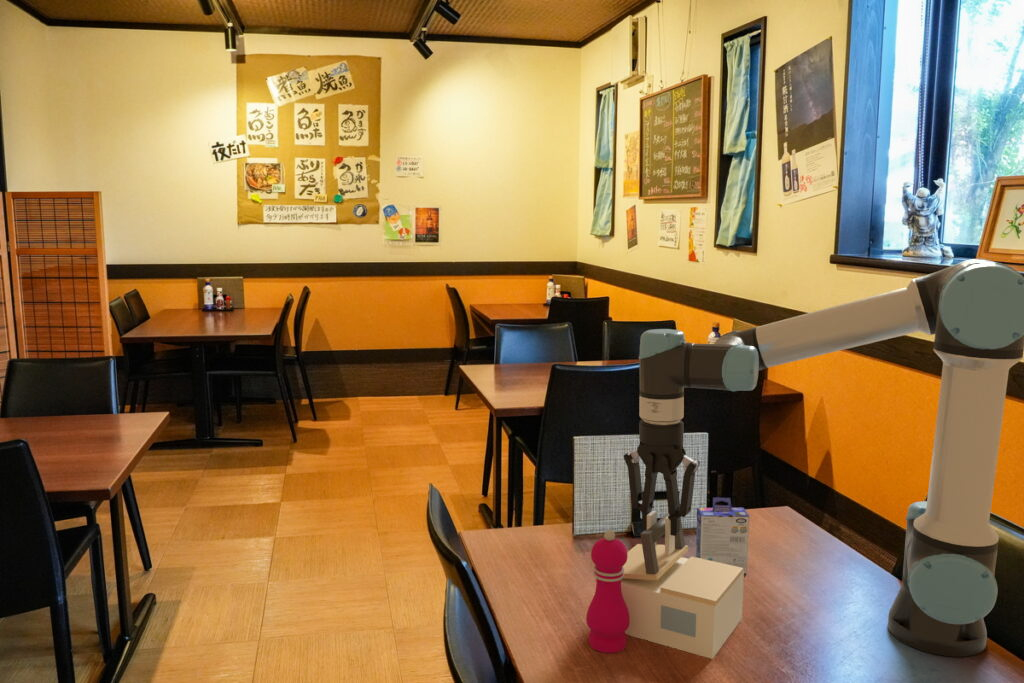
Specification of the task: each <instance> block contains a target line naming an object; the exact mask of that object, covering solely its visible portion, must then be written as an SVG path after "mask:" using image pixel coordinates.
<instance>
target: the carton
mask: <svg viewBox="0 0 1024 683" xmlns="http://www.w3.org/2000/svg"><path fill="white" fill-rule="evenodd" d="M744 577H745V574H744V571H743V568H741V567H737V566H732V565H728V564H723V563H719V562H714V561H710V560H705V559H701V558H696V556H690V557H689V558H686V557H683V556H682V557H681V558H680V559H679V560H678V561H676V562H675V563H674V564H673V565H672V566H671V567H670V568H669V569H668V570H667V571H666V572H665V573H664V574H663V575H662V576H661V577H660V578H659V579H658V580H645V579H627V578H622V579H621V591H622V595H623V598H624V601H625V603H626V606H627V608H628V612H629V618H630V624H629V627H628V628H627V630H626V631H625V633H626V636H631V637H634V638H637V639H641V640H644V639H645V640H644V641H647V640H648V642H650V643H655V644H659V645H661V646H664V647H665V646H666V647H668V646H669V648H672V649H675V648H676V650H680V651H683V652H686V653H690V654H692V655H693V654H694V655H696V656H700V657H703V658H708V659H711V660H713V659H714V658H715V657H716V655H717V654H718V653H719V651H720V650H721V648H722V647H723V646H724V644H725V643H726V641H727V640H728V639H729V637H730V636H731V635H732V633H733V632H734V630H735V629H736V628H737V626H738V625H739V623H741V621H742V619H743V604H744V602H743V600H744V583H745V581H744V580H745V578H744Z"/></svg>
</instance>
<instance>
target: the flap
mask: <svg viewBox="0 0 1024 683" xmlns="http://www.w3.org/2000/svg"><path fill="white" fill-rule="evenodd" d="M668 515H669V510H668V512H667V513H666V514H665V515H664V516H663V517H661V518H660V519H659V520H657V522H656V523H655V524H654V525H653V526H652V527H650V528H649V529H648V530H647V531H646V530H643V531H641V533H640V541H641V543H636V544H635V546H633V547H632V548H631V549H629V550H628V551H627V554H628V557H627V561H626V563H625V564H624V565H623V568H624V577H623V578H627V579H645V580H658V579H659V578H660V577H661V576H662V575H663V574H664V573H665V572H666V571H667V570H668V569H669V568H670V567H671V566H672V565H673V564H674V563H675V562H676V561H678V560H679V559H680V558H681V557H683V556H684V555H685V554H686V553H687V552H688V551H689V545H686V542H685V534H684V530H683V528H684V527H683V523H682V517H680V532H679V534H678V535H676V536H675V550H674V551H673V552H672V553H671V554H670V555H666V554H665V544H657V546H656V547H655V542H656V541H657V542H658V541H659V540H660V539H661V538H662V537H664V536H665V518H666V517H667V516H668Z"/></svg>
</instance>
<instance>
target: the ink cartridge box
mask: <svg viewBox="0 0 1024 683" xmlns="http://www.w3.org/2000/svg"><path fill="white" fill-rule="evenodd" d="M719 502H724V503H727V505H724V504H720V505H719V504H716V503H719ZM749 529H750V515H749V513H748V512H747V511H746V509H745V508H744V507H732V502H731V497H712V507H697V508H696V541H695V542H696V543H695V545H696V546H695V548H696V549H695V557H696V558H701V559H705V560H710V561H714V562H719V563H723V564H728V565H732V566H737V567H741V568H743V571H744V575H746V574H747V573H748V557H749V556H748V555H749V533H750V531H749Z"/></svg>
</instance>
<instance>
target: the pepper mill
mask: <svg viewBox="0 0 1024 683" xmlns="http://www.w3.org/2000/svg"><path fill="white" fill-rule="evenodd" d="M603 536H604V537H602V538H600V539H599V540H597V541H596V542H595V543H593V545H592V548H591V551H590V559H591V560H592V562H593V564H594V566H593V571H594V572H593V576H594V577H595V582H596V583H595V584H596V586H595V592H594V595H593V598H592V600H591V602H590V603H589V606H588V609H587V611H586V617H585V618H586V619H585V620H586V625H587V627H588V628H589V629H590V631H589V633H588V644H589V646H590V647H591V648H592V649H593V650H595V651H598V652H600V653H604V654H605V653H606V654H615V653H619V652H622V651H623V650H624V649H625V648H626V646H627V635H626V633H625V631H626V630H627V628H628V627H629V624H630V618H629V612H628V608H627V606H626V603H625V601H624V598H623V595H622V591H621V579H622V578H623V577H624V568H623V565H624V564H625V563H626V561H627V557H628V554H627V552H628V549H627V546H626V545H625V544H624V542H622V541H621V540H620V539H617V538H616V534H615V532H614V531H613V530H611V529H607V530H606V531H605V532H604V534H603Z"/></svg>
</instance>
